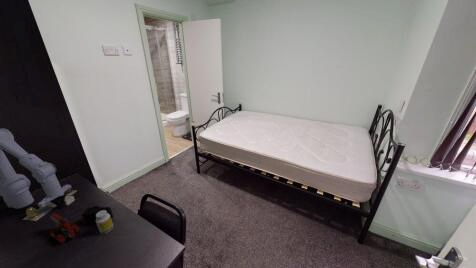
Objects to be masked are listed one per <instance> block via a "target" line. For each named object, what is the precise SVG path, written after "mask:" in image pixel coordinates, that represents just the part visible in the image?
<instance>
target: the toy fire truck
mask: <svg viewBox="0 0 476 268" xmlns="http://www.w3.org/2000/svg"><path fill="white" fill-rule="evenodd" d="M49 217H50V219H51V221H52V223H53V224H54V226H55V229H52V230H50V231H49V234H50V236H51V237H52V238H53V239H54V240H57V241H58V242H59V244H63V243H65V242H66V241H67V239H68V237H69V238H71V239H73V238H74V237H76V234H78V233H79V232H80V231H81V229H80V227H79V225H77V224H74V223H73V222H72V221H71V220H69V219H67V218H65V217H63V216H61V215H59V214H58V213H56V212H54V213H52V214H50V215H49Z"/></svg>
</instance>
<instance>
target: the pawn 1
mask: <svg viewBox="0 0 476 268" xmlns="http://www.w3.org/2000/svg"><path fill="white" fill-rule="evenodd" d="M25 214H26V216H28V219H29V220H28V221H33V220H32V219H35V218H37V217H38V216H39V215H40V214H39V213H38V212H37V209H36V207H31V206H30V207H28V208H27V209H26V211H25Z"/></svg>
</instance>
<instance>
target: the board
mask: <svg viewBox="0 0 476 268" xmlns="http://www.w3.org/2000/svg"><path fill="white" fill-rule="evenodd" d="M71 190H72V192H71V193H70V194H67V195H66V196H73V195H74V194H75V193H76V192H77V191H78V190H74V189H71ZM56 207H57V206H56V205H55V204H53V203H51V202H49V203H47V204H46V205H45V206H44V207H39V208H37V209H36V210H37V212H38V213H39V214H40V215H39V216H38V217H37V218H35V219H32V220H31V221H35V222H37V221H38V220H40V219H41V218H43V217H44V216H45V215H46V214H48V213H49V212H50V211H52V210H53V209H55V208H56ZM21 220H22V221H30V220H29V219H28V215H26V216H25V217H24V218H23V219H21Z"/></svg>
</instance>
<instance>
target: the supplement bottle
mask: <svg viewBox="0 0 476 268" xmlns="http://www.w3.org/2000/svg"><path fill="white" fill-rule="evenodd" d="M113 222H114V221H113V219H111V217H110V214H108V213H107V211H106V210H102V211H100V212H98V213H97V214H96V224H97V225H96V226H97V229H98V230H99V233H100V234H102V235H104V234H108V233H109V232H111V231H112V230H113V228H114V226H115V225H114V223H113Z"/></svg>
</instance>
